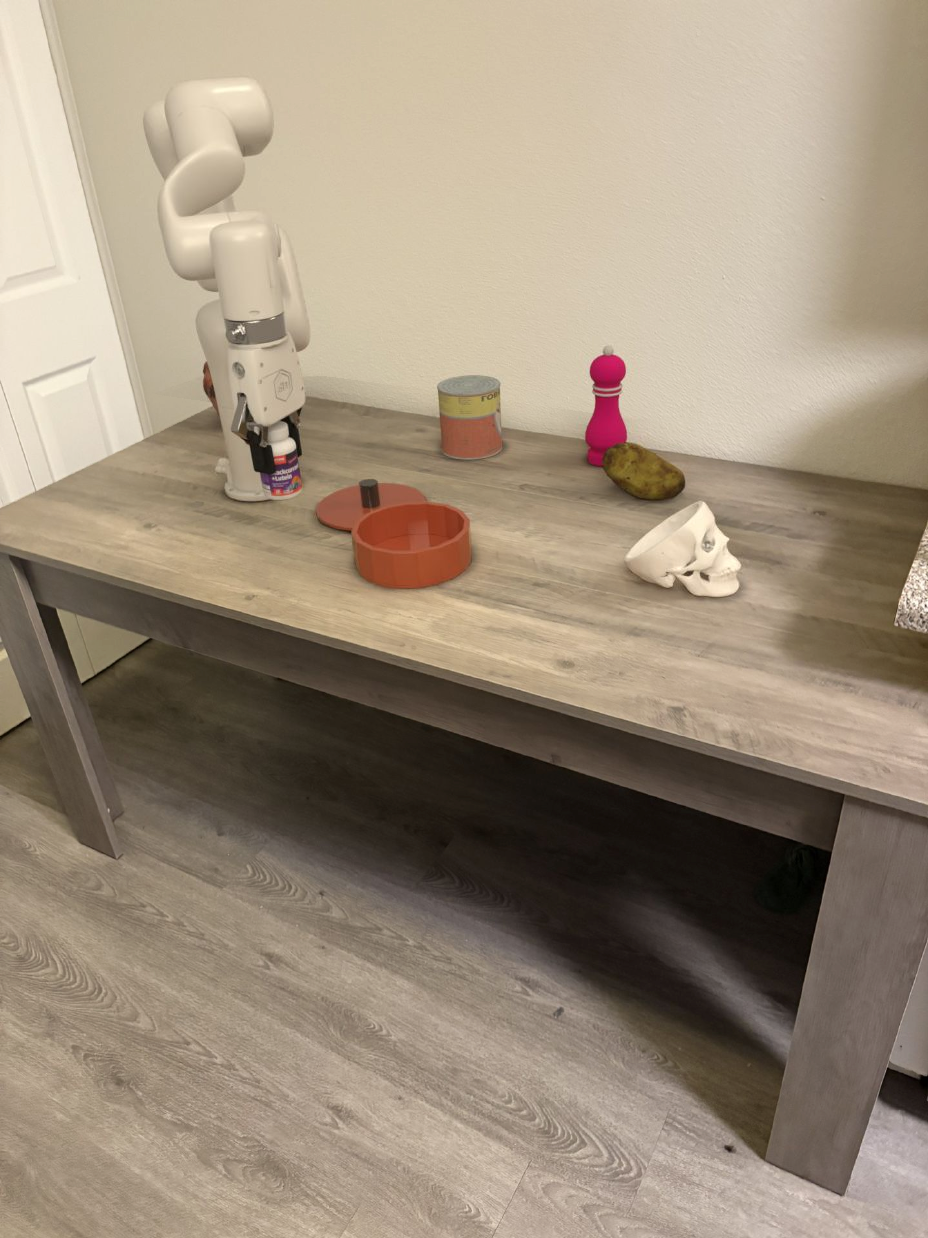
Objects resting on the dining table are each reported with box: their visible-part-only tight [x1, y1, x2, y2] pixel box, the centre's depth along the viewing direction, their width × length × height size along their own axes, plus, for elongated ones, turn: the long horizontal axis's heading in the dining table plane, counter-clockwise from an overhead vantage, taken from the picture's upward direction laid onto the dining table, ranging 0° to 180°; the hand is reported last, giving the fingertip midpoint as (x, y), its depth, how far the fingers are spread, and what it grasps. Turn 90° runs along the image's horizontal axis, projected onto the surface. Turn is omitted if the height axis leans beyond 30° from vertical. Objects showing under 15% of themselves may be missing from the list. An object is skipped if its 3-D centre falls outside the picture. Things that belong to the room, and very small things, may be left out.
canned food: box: [436, 374, 503, 461], centre depth 167 cm, size 11×11×12 cm
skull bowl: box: [623, 500, 742, 598], centre depth 122 cm, size 10×14×12 cm
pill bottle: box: [257, 421, 303, 501], centre depth 124 cm, size 5×5×10 cm
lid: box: [315, 478, 427, 532], centre depth 147 cm, size 18×18×5 cm
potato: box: [602, 441, 686, 500], centre depth 146 cm, size 8×13×8 cm, turn 46°
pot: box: [350, 501, 473, 589], centre depth 131 cm, size 17×17×6 cm
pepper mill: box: [584, 344, 628, 467], centre depth 156 cm, size 7×7×20 cm
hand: (278, 462), depth 125 cm, fingers closed on pill bottle, 5 cm apart
